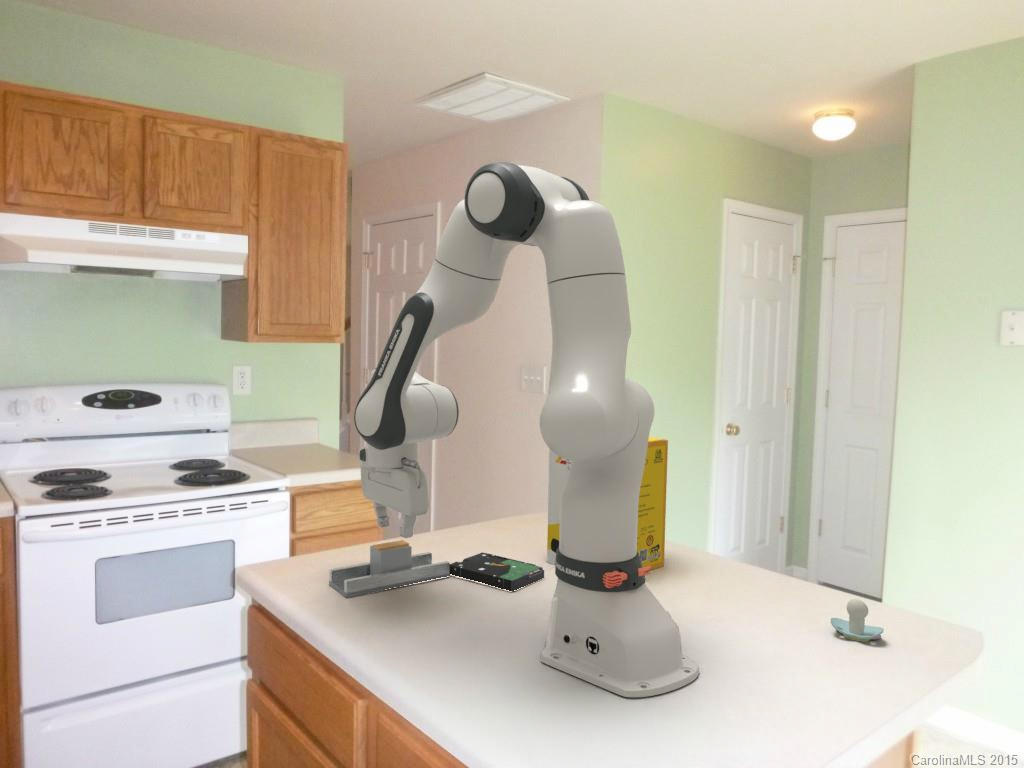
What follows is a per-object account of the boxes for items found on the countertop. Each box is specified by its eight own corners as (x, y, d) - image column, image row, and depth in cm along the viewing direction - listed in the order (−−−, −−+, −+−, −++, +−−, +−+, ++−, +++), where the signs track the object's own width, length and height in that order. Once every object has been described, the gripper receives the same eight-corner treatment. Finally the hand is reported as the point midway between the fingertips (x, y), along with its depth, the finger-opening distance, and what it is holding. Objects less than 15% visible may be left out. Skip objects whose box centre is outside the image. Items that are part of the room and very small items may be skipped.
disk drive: (447, 579, 140) (513, 595, 132) (447, 564, 140) (513, 579, 131) (481, 565, 149) (545, 580, 140) (481, 551, 148) (545, 565, 140)
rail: (449, 577, 139) (449, 562, 139) (346, 598, 128) (347, 581, 127) (428, 566, 146) (428, 551, 145) (329, 584, 134) (329, 569, 134)
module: (411, 577, 136) (411, 544, 136) (380, 583, 133) (380, 549, 132) (400, 570, 140) (400, 538, 140) (370, 576, 136) (370, 543, 136)
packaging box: (546, 562, 149) (549, 436, 148) (601, 547, 160) (604, 430, 159) (609, 583, 137) (613, 447, 136) (664, 566, 148) (668, 439, 147)
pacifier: (835, 626, 120) (827, 637, 115) (837, 587, 120) (829, 596, 114) (886, 637, 116) (880, 649, 111) (888, 596, 116) (883, 607, 111)
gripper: (437, 460, 128) (438, 541, 129) (385, 447, 145) (386, 518, 146) (403, 464, 125) (404, 547, 125) (354, 450, 141) (355, 523, 142)
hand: (394, 531), depth 136 cm, fingers open, 8 cm apart
